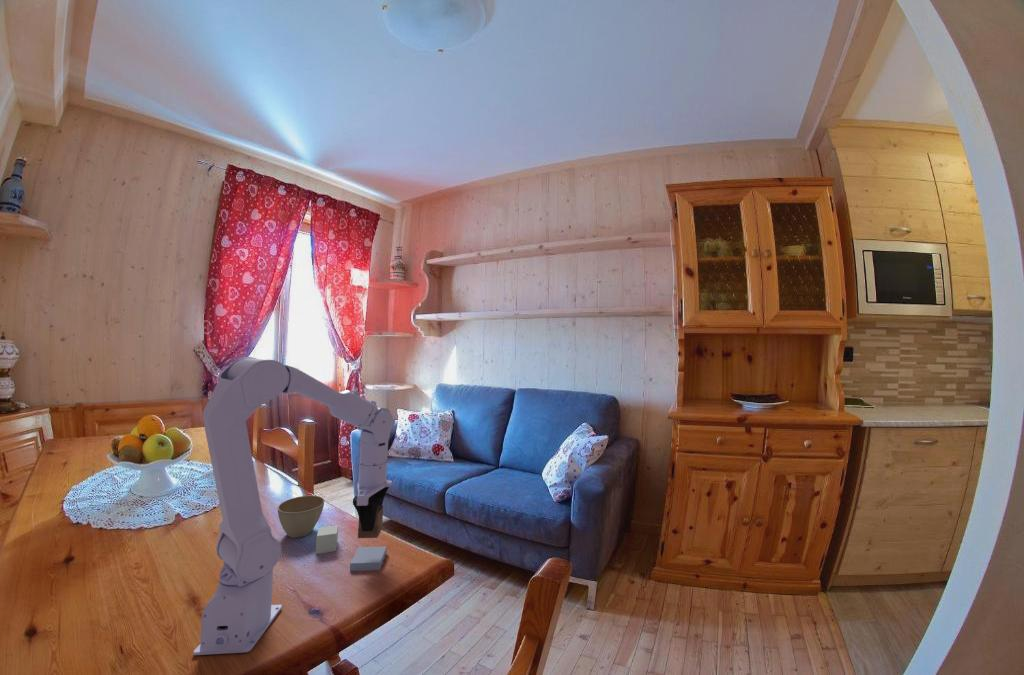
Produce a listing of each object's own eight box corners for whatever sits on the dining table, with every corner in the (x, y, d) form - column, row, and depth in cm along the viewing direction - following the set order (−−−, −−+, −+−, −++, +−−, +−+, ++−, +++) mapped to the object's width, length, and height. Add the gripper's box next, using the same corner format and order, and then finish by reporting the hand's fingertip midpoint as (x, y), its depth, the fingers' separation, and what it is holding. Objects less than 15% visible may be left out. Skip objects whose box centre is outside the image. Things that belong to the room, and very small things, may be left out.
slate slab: (379, 572, 74) (380, 562, 74) (349, 573, 74) (350, 563, 74) (386, 555, 80) (386, 546, 80) (358, 556, 80) (359, 547, 80)
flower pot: (302, 546, 82) (303, 515, 82) (265, 540, 84) (267, 509, 84) (332, 525, 92) (333, 497, 92) (298, 520, 94) (300, 493, 94)
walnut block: (377, 537, 75) (378, 513, 76) (357, 538, 75) (359, 514, 75) (382, 528, 79) (383, 505, 80) (363, 528, 79) (364, 505, 79)
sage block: (335, 551, 81) (336, 533, 81) (315, 554, 79) (316, 536, 79) (337, 542, 84) (338, 525, 84) (318, 544, 83) (319, 527, 83)
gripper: (384, 473, 71) (381, 542, 70) (399, 452, 85) (396, 509, 85) (347, 473, 70) (343, 543, 70) (368, 451, 84) (366, 509, 84)
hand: (370, 524), depth 77 cm, fingers closed on walnut block, 4 cm apart
